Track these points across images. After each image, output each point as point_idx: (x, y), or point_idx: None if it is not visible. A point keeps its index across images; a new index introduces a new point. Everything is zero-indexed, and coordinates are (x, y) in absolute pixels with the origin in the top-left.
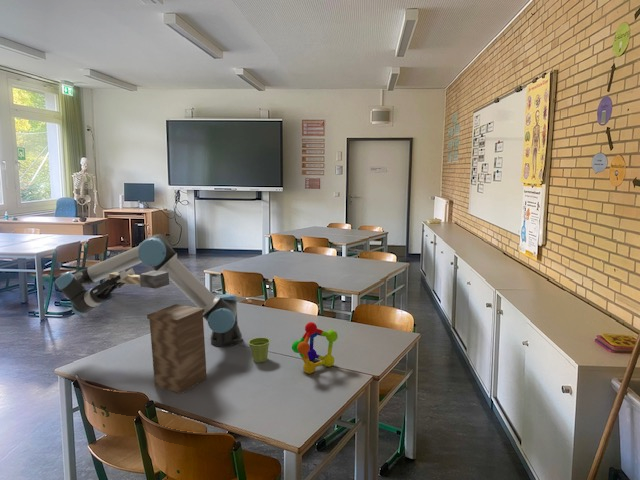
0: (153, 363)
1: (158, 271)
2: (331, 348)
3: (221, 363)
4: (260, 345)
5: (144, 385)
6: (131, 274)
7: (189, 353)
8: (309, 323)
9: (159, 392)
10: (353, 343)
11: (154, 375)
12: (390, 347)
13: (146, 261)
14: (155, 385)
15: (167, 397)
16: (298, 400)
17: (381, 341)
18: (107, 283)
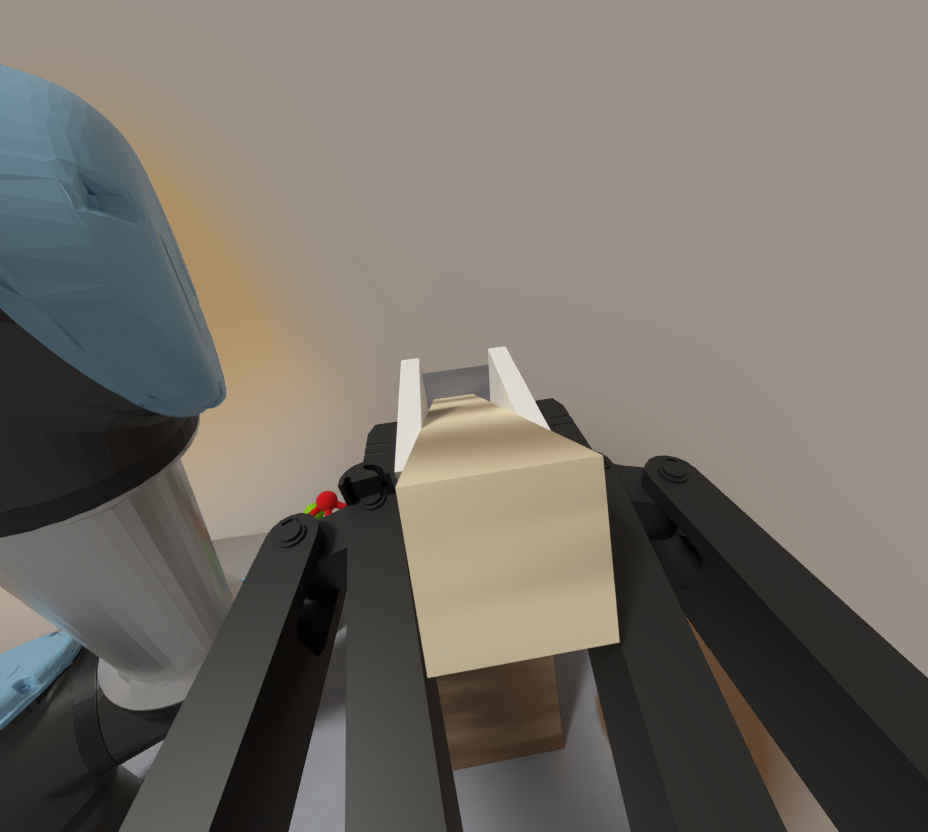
0: (554, 672)
1: None
2: None
3: (344, 702)
4: None
5: (591, 795)
6: (435, 412)
7: None
8: (328, 492)
9: (571, 696)
10: (228, 572)
11: (559, 710)
12: (256, 541)
13: (206, 354)
14: (562, 741)
15: (567, 657)
16: None
17: (226, 554)
18: (691, 664)
